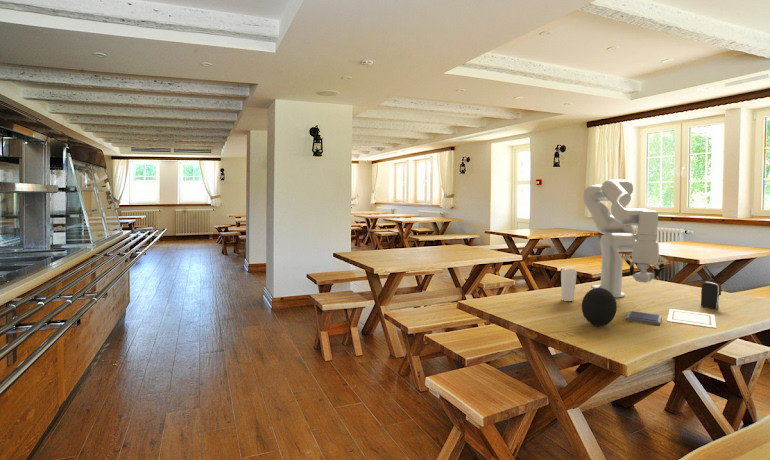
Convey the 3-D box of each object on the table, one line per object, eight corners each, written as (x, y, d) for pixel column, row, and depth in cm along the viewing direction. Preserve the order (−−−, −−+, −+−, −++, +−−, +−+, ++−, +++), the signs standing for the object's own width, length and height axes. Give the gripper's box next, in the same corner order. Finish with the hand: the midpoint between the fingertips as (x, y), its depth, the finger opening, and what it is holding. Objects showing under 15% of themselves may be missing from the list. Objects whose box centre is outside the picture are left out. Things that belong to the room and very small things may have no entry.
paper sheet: (667, 321, 180) (667, 320, 180) (669, 309, 198) (669, 308, 198) (716, 328, 171) (716, 327, 171) (714, 315, 189) (714, 314, 189)
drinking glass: (557, 299, 216) (558, 268, 215) (570, 298, 217) (572, 268, 215) (564, 302, 210) (565, 271, 208) (578, 302, 210) (579, 271, 209)
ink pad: (625, 320, 181) (625, 316, 181) (629, 313, 191) (629, 310, 191) (660, 325, 175) (660, 321, 174) (661, 318, 184) (662, 314, 184)
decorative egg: (582, 319, 183) (584, 283, 182) (616, 323, 177) (618, 286, 175) (579, 327, 172) (580, 289, 171) (614, 332, 166) (616, 293, 165)
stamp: (658, 281, 198) (657, 262, 197) (651, 283, 194) (650, 264, 194) (636, 279, 205) (636, 261, 205) (630, 281, 201) (629, 263, 201)
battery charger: (721, 308, 199) (723, 283, 198) (715, 309, 198) (717, 284, 197) (705, 304, 206) (707, 280, 204) (699, 305, 204) (701, 281, 203)
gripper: (623, 237, 199) (620, 275, 201) (669, 240, 189) (666, 280, 191) (625, 235, 205) (623, 272, 207) (670, 238, 195) (667, 277, 197)
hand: (643, 276), depth 199 cm, fingers closed on stamp, 8 cm apart
